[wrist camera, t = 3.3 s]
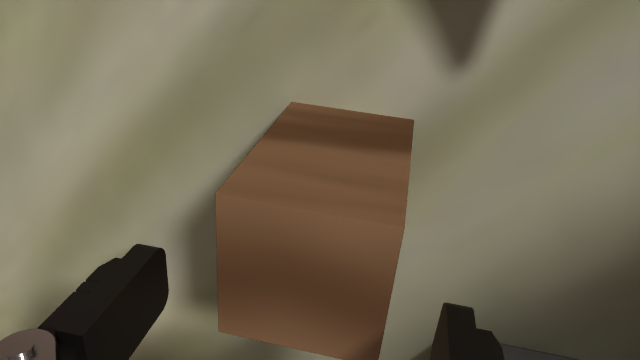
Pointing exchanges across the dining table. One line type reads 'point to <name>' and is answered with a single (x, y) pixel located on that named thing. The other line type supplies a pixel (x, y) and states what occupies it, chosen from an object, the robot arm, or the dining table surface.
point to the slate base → (527, 354)
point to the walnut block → (315, 231)
